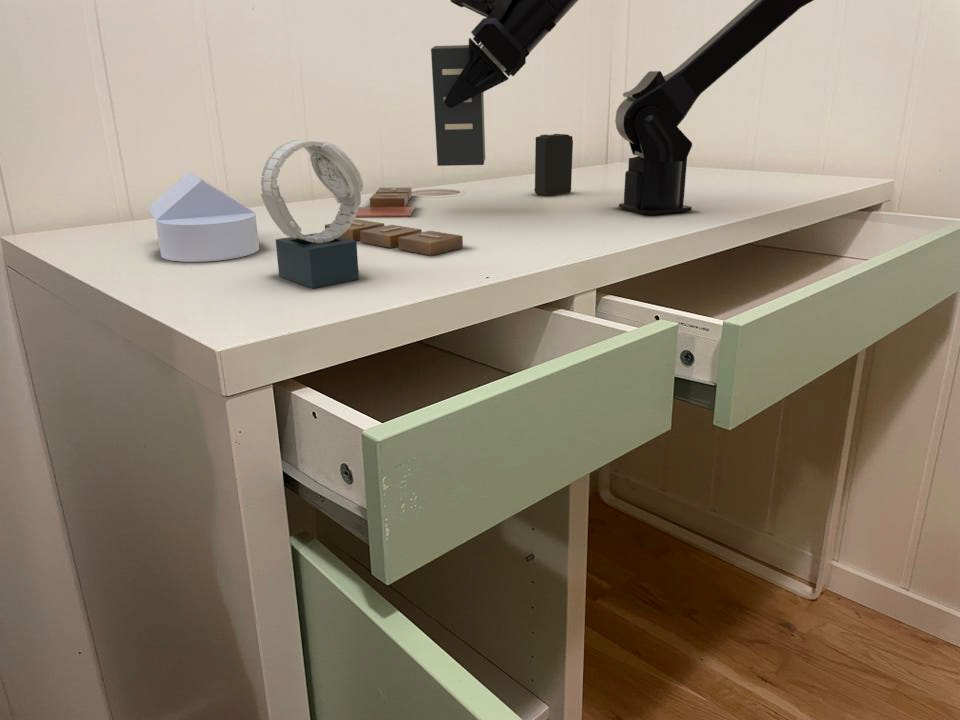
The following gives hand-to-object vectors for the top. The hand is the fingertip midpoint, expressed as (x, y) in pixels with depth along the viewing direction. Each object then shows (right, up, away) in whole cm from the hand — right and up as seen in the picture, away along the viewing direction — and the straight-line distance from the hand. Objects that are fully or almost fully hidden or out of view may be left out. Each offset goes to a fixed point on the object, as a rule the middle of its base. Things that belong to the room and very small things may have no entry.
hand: (447, 104), depth 91 cm
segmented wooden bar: (-5, -18, -12) cm, 22 cm away
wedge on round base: (-23, -19, -14) cm, 33 cm away
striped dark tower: (+2, -6, +3) cm, 7 cm away
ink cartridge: (+14, -7, +18) cm, 24 cm away
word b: (-8, -10, +10) cm, 16 cm away
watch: (-10, -23, -26) cm, 36 cm away
